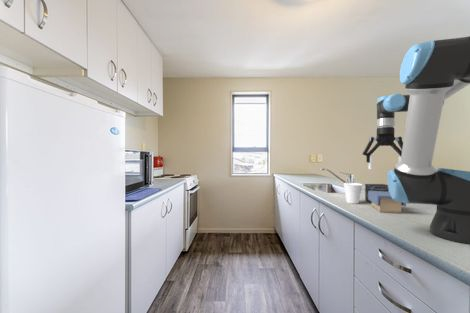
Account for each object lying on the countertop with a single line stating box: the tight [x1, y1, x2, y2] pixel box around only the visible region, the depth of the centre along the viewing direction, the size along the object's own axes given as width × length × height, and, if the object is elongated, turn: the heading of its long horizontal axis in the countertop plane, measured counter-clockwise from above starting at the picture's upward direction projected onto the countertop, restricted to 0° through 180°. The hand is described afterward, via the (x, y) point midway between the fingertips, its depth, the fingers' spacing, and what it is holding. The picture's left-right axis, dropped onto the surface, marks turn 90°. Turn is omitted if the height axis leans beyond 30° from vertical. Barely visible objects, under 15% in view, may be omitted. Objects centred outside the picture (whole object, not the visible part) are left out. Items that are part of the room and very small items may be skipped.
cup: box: [342, 182, 363, 205], centre depth 130 cm, size 10×10×11 cm
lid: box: [368, 191, 407, 207], centre depth 115 cm, size 14×12×5 cm
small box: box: [364, 183, 389, 204], centre depth 133 cm, size 11×6×10 cm, turn 84°
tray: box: [371, 198, 403, 214], centre depth 115 cm, size 12×9×7 cm
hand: (385, 169), depth 115 cm, fingers open, 13 cm apart
